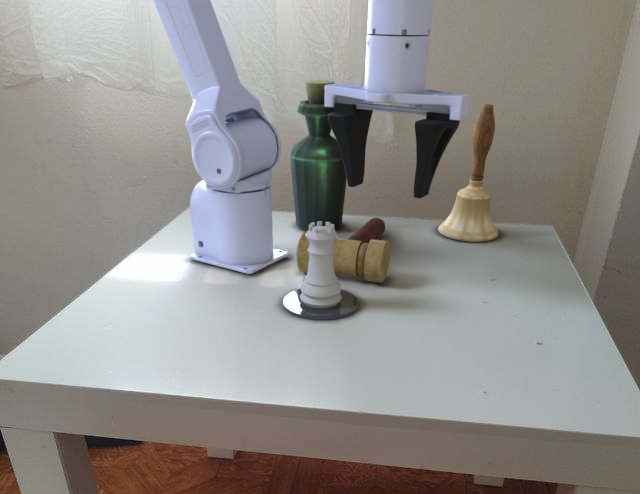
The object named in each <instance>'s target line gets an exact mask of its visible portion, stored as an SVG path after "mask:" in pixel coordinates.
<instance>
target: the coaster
mask: <svg viewBox="0 0 640 494" xmlns="http://www.w3.org/2000/svg"><path fill="white" fill-rule="evenodd" d="M301 293H302V292H301V289H300V288H299V289H295V290H292V291H291V292H289V293H287V294H286V295H284V297H283V299H282V306H283V309H284V310H285V311H286V312H288V313H289V314H290V315H293V316H296V317H298V318H302V319H308V320H316V321H326V320H327V321H328V320H336V319H340V318H344V317H347V316H349V315H351V314H353V313H354V312H355V311H356V310H357V309H358V308H359V300H358V298H357V297H356V295H354V294H353V293H351V292H349V291H347V290H345V289H341V291H340V294H341V296H342V298H341V300H340V301H339V303H338V304H337V305H335V306H333V307H330V308H321V309H320V308H312V307H309V306H307V305H305V304H304V303H303V302H302V301H301V299H300V295H301Z"/></svg>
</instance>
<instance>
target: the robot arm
mask: <svg viewBox="0 0 640 494" xmlns="http://www.w3.org/2000/svg"><path fill="white" fill-rule="evenodd" d="M153 2H154V5H155V7H156V10H157V13H158V15H159V17H160V20H161V23H162V25H163V28H164V30H165V33H166V35H167V38H168V40H169V43H170V46H171V48H172V50H173V53H174V56H175V59H176V60H177V63H178V65H179V68H180V71H181V74H182V76H183V78H184V81H185V84H186V86H187V88H188V91H189V93H190V97H191V99H192V105H191V108H190V110H189V113H188V115H187V117H186V120H185V127H186V130H187V133H188V136H189V139H190V145H191V158H192V162H193V163H192V164H193V166H194V168H195V170H196V172H197V174H198V176H199V177H200V179H202V180H200V181H199V182H198V183H197V184H196V185H195V186H194V188H193V190H192V192H191V196H190V199H189V200H190V201H189V212H190V213H189V214H190V221H191V222H190V223H191V231H192V239H193V249H194V253H192V254H190V257H189V258H190V259H191V260H194V261H197V262H201V263H204V264H208V265H213V266H216V267H218V268H219V267H220V268H223V269H227V270H232V271H235V272H238V273H242V274H246V275H252V274H255V273H256V272H258V271H260V270H262V269H265V268H266V267H268V266H270V265H272V264H275V263H276V262H279V261H280V260H282V259H284V258H286V257H288V256H289V252H288V251H287V250H282V249H279V248H278V249H277V248H274V232H273V229H274V228H273V205H272V204H273V203H272V202H273V199H272V180H273V169H274V168H275V167H276V166H277V164H278V163H279V161H280V158H281V153H282V141H281V137H280V134H279V131H278V129H277V128H276V126H275V125H274V123H273V122H272V121H271V120H270V119H269V118H268V116H267V115H266V114H265V112H264V110H263V107H262V104H261V103H260V100H259V98H258V97H256V95H254V94H253V93H252V92H251V91H250V90H248V88H246V87H245V86H244V85H243V84H242V83H241V80H240V78H239V75H238V73H237V70H236V67H235V64H234V61H233V59H232V55H231V52H230V50H229V48H228V45H227V42H226V39H225V37H224V34H223V30H222V28H221V25H220V23H219V20H218V17H217V15H216V12H215V9H214V6H213V3H212V1H211V0H153ZM433 9H434V0H368V7H367V26H366V27H367V29H366V46H365V47H366V48H365V67H364V68H365V69H364V71H365V72H364V84H352V83H351V84H350V83H335V84H329V85H325V107H334V110H333V113H329V114H328V123H329V125H330V127H331V132H332V133H333V135H334V138H335V139H336V140H337V142H338V145H339V148H340V151H341V154H342V158H343V162H344V166H345V171H346V176H347V181H346V183H347V186H348V187H350V188H355V187H358V186H360V185H362V184H364V178H365V172H366V170H365V169H366V151H367V150H366V149H367V141H368V135H369V129H370V125H371V121H372V116H373V114H374V113H373V112H374V111H375V112H385V113H386V112H387V113H394V114H395V113H396V114H404V115H405V114H407V115H414V116H425V118H422V119H419V120H416V121H415V122H414V133H415V134H414V135H415V144H416V145H415V146H416V161H415V173H414V182H413V198H415V199H422V198H424V197H427V196H429V193H430V190H431V187H432V186H431V185H432V182H433V180H434V176H435V173H436V171H437V169H438V166H439V164H440V161H441V159H442V157H443V155H444V153H445V151H446V149H447V147H448V145H449V144H450V142H451V140H452V138H453V136H454V135H455V134H456V132H457V130H458V128H459V126H460V123H461V121H463V120H465V119H467V118H468V116H469V110H470V101H471V94H466V93H458V92H450V91H444V90H443V91H442V90H436V89H428V88H426V83H427V82H426V81H427V73H428V62H429V61H428V60H429V49H430V41H431V32H432V31H431V30H432V29H431V28H432V21H433V11H434V10H433ZM391 104H392V105H391ZM393 104H395V105H393ZM397 104H399V105H397ZM400 104H401V105H407V106H400Z"/></svg>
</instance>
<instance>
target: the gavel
mask: <svg viewBox="0 0 640 494" xmlns="http://www.w3.org/2000/svg"><path fill="white" fill-rule="evenodd" d="M385 231H386V223H385V220H384V219H382V218H379V217H373V218H371V219H369V220H368V221H367V222H366V223H364V224H363V225H362V226H361V227H360V228H359V229H358V230H357V231H355V232H354V233H353V234H352V235H350V236H349V237H348V238H340V237H336V239H335V240H334V242H333V247H334V249H335V251H334V253H333V264H334V272H335V275H341V276H349V277H357V278H359V277H364V280H365V282H371V283H381V284H383V282H384V281H385V280H386V278H387V275H388V272H389V268H390V261H391V245H390V243H389V241H388V240H381V239H380V238H381V237H382V236H383V235H384V233H385ZM306 233H307V231H304V232H303V233H302V234H301V235H300V236H299V237H300V238H299V240H298V243H297V248H296V266H297V268H298V270H299V272H301V273H305V274H307V272H308V265H309V252H308V250H307V249H308V248H309V246H310V242H309V240H308V239H307V238H306V236H305V234H306ZM379 239H380V240H379Z"/></svg>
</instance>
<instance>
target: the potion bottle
mask: <svg viewBox="0 0 640 494" xmlns="http://www.w3.org/2000/svg"><path fill="white" fill-rule="evenodd" d="M304 84H305V91H306V96H307V99H305V100H300V101H299V102H298V106H297V110H296V112H297V113H298V114H300V115H302V116H303V117H304V118H305V123H306V127H307V132H308V135H306V136H305V137H303V138H301V139H300V140H299V141H297V142H296V143H294V144H293V145H292V146H291V148H290V151H289V164H290V173H291V174H290V175H291V184H292V185H291V186H292V194H293V205H294V214H295V225H296V226H297V227H298V228H299V229H301V230H304V231H306V232H307V231H308V230H309V225H310V223H312V222H314V223H315V226H317V221H322V226H325V225H326V222H330V223H331V224H334V230H335V231H336V230H338V229H339V228H340V226H341V225H342V224H343V216H344V206H345V200H346V199H345V198H346V189H347V176H346V171H345V166H344V162H343V158H342V154H341V151H340V148H339V145H338V142H337V140H336V137H335V136H333V135H332V134H331V133H332V129H331V127H330V125H329V123H328V114H329V113H333V110H334V107H325V85H329V84H335V81H334V80H328V79H309V80H305V81H304Z"/></svg>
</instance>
